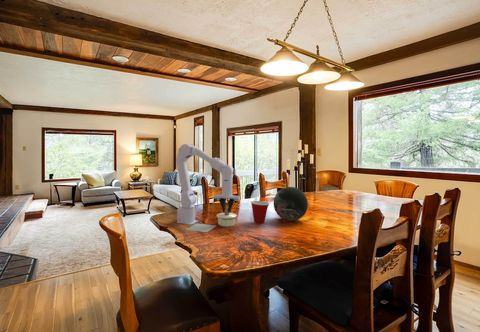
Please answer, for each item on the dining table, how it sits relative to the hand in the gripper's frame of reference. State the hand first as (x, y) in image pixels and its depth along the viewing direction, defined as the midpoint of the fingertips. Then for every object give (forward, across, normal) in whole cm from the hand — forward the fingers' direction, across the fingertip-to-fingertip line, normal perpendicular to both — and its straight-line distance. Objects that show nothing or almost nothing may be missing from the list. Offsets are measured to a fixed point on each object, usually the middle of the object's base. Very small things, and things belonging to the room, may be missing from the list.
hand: (226, 212), depth 146 cm
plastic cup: (+7, +16, +11) cm, 21 cm away
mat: (+7, -10, -11) cm, 16 cm away
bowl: (+7, 0, 0) cm, 7 cm away
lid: (+2, 0, 0) cm, 2 cm away
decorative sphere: (+7, +32, +22) cm, 40 cm away
